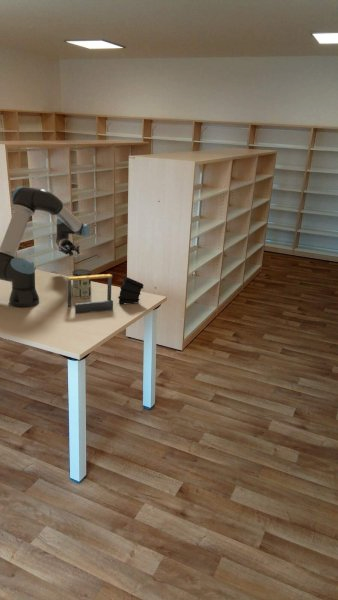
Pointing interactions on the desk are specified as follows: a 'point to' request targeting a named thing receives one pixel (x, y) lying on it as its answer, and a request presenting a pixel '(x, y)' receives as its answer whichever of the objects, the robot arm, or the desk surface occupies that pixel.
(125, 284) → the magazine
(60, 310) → the desk surface
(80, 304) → the retention bracket
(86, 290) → the coffee can
